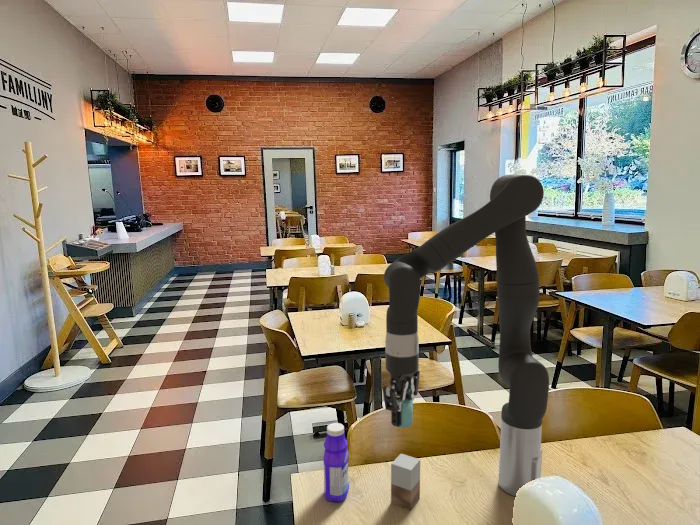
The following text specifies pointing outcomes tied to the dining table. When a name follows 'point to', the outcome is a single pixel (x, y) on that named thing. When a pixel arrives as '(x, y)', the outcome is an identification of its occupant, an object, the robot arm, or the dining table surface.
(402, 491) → the base block
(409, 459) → the mid block
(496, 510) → the dining table surface
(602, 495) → the dining table surface
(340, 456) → the bottle
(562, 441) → the dining table surface
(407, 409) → the teal rounded cylinder
